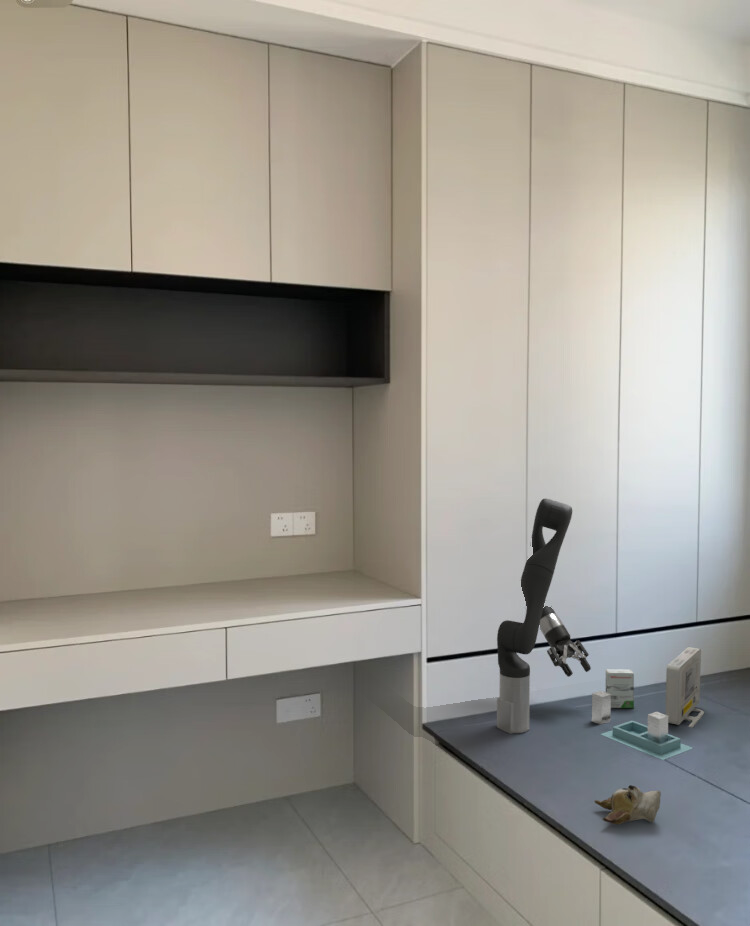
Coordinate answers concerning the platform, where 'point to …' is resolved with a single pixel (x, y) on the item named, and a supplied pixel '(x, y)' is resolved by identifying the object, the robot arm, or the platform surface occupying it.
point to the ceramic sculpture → (631, 805)
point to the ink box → (620, 687)
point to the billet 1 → (601, 707)
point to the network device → (683, 687)
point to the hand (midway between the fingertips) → (579, 672)
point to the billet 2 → (657, 727)
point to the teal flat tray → (645, 740)
